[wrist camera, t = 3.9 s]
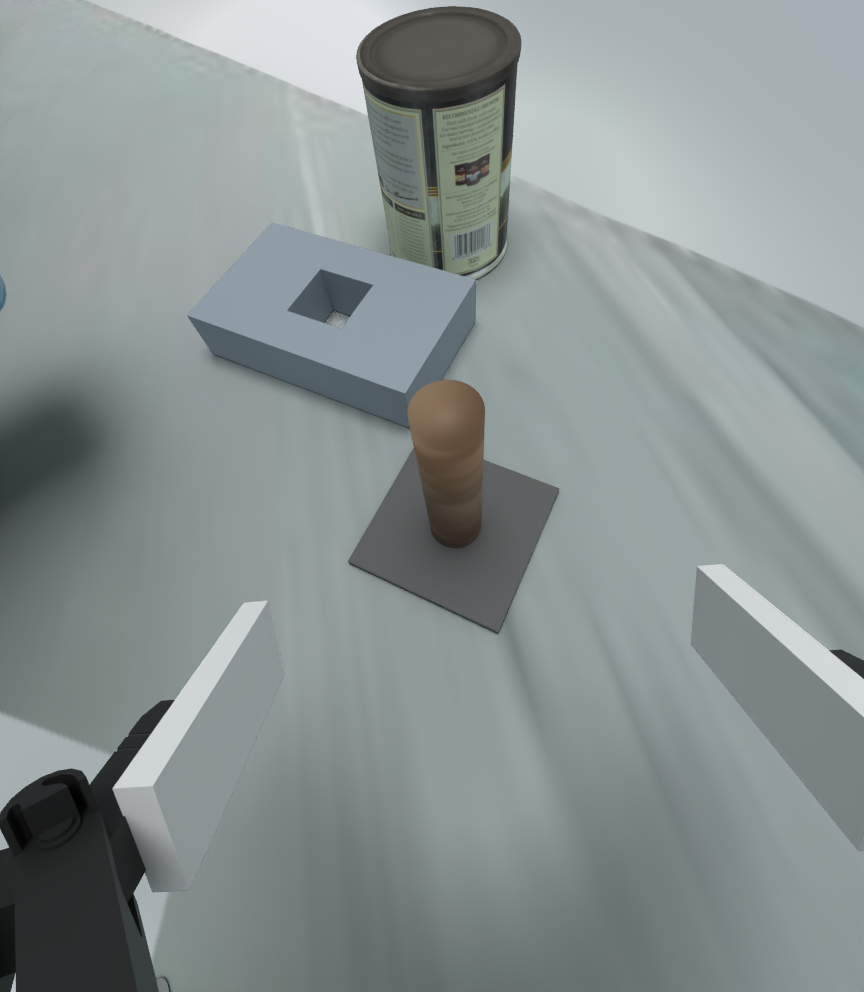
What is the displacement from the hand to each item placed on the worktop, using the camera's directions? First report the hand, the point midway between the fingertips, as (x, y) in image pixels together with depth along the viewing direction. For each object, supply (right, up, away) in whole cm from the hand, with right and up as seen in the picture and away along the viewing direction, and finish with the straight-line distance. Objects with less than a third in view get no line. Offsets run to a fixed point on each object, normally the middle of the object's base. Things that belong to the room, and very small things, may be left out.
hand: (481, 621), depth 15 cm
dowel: (0, +2, +16) cm, 16 cm away
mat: (0, +2, +16) cm, 16 cm away
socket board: (-9, +16, +24) cm, 31 cm away
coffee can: (0, +26, +28) cm, 38 cm away
